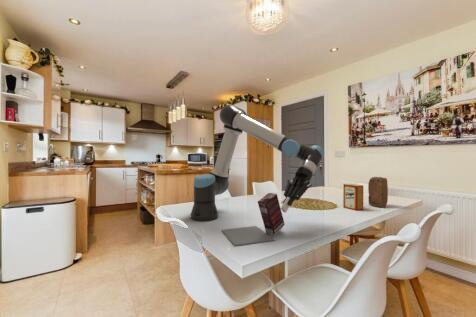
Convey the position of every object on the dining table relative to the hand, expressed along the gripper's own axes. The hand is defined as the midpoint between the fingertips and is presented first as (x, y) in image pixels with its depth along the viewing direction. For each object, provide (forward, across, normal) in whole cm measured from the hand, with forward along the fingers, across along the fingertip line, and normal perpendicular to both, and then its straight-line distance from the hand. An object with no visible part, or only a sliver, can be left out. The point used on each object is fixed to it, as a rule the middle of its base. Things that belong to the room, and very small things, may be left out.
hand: (283, 210), depth 96 cm
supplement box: (+8, +3, -4) cm, 9 cm away
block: (-58, -2, -73) cm, 94 cm away
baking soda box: (-43, +5, -58) cm, 73 cm away
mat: (+18, +7, +4) cm, 20 cm away
